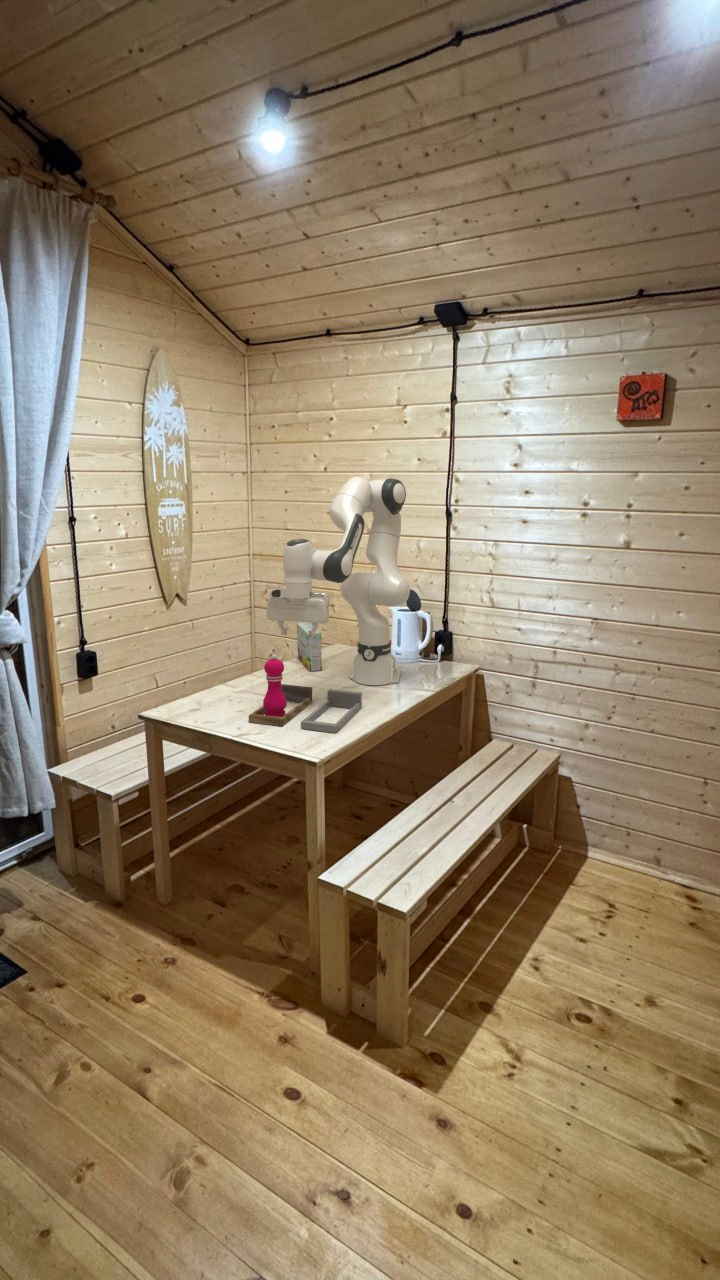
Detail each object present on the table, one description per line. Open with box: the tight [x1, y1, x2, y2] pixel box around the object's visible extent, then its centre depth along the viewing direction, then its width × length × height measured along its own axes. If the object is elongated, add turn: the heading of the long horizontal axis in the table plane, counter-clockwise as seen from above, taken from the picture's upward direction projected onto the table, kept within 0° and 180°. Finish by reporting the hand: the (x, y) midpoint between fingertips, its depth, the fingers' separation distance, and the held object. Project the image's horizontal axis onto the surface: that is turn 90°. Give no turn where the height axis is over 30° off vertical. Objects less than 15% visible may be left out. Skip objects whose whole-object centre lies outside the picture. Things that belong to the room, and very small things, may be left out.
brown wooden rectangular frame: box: [248, 683, 313, 727], centre depth 217 cm, size 24×11×5 cm, turn 162°
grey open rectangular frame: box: [300, 688, 363, 734], centre depth 212 cm, size 24×11×5 cm, turn 162°
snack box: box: [296, 622, 323, 673], centre depth 271 cm, size 21×6×15 cm, turn 17°
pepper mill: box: [262, 653, 288, 717], centre depth 211 cm, size 7×7×20 cm
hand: (297, 635), depth 218 cm, fingers open, 8 cm apart
